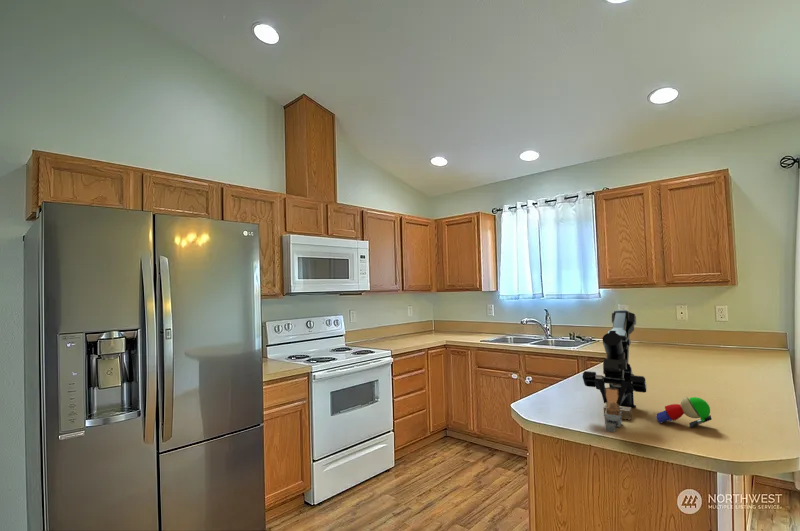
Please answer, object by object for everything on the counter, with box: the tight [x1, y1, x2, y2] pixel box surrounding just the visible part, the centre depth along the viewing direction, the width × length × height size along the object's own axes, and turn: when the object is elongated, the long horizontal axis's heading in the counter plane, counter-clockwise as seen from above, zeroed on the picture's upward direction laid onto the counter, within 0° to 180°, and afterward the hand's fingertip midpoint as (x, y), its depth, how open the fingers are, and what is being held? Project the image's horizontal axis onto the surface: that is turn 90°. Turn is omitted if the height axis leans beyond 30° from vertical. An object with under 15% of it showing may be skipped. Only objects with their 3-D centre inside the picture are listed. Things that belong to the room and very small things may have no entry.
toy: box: [655, 396, 712, 429], centre depth 135 cm, size 8×8×15 cm
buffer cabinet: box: [603, 404, 633, 421], centre depth 145 cm, size 5×8×3 cm, turn 56°
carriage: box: [603, 386, 623, 428], centre depth 137 cm, size 5×4×11 cm
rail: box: [605, 420, 618, 433], centre depth 136 cm, size 15×2×2 cm, turn 146°
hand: (611, 403), depth 136 cm, fingers closed on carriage, 4 cm apart
